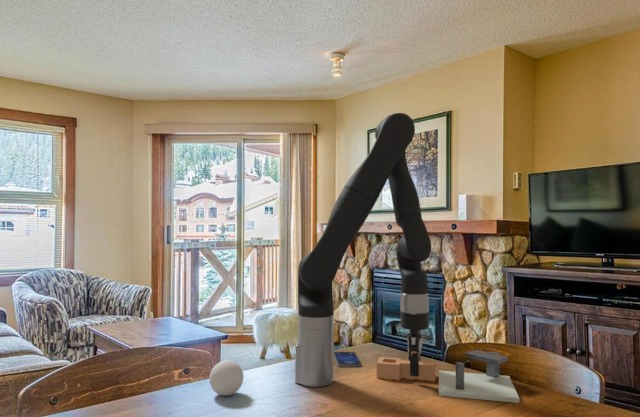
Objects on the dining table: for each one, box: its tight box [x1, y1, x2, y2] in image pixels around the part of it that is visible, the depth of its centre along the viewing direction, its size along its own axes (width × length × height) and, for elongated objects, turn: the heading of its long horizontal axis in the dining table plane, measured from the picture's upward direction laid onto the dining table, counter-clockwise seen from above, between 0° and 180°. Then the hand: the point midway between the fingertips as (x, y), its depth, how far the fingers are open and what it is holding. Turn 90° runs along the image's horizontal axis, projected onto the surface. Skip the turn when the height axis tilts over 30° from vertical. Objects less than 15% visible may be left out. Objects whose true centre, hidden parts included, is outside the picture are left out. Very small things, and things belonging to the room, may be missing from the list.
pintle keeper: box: [455, 349, 509, 390], centre depth 121 cm, size 13×16×7 cm
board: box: [438, 370, 520, 404], centre depth 120 cm, size 18×17×1 cm
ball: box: [208, 359, 244, 397], centre depth 113 cm, size 8×8×8 cm
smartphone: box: [333, 351, 363, 368], centre depth 144 cm, size 7×1×15 cm
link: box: [376, 356, 436, 382], centre depth 128 cm, size 15×6×4 cm, turn 76°
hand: (415, 370), depth 127 cm, fingers open, 8 cm apart
